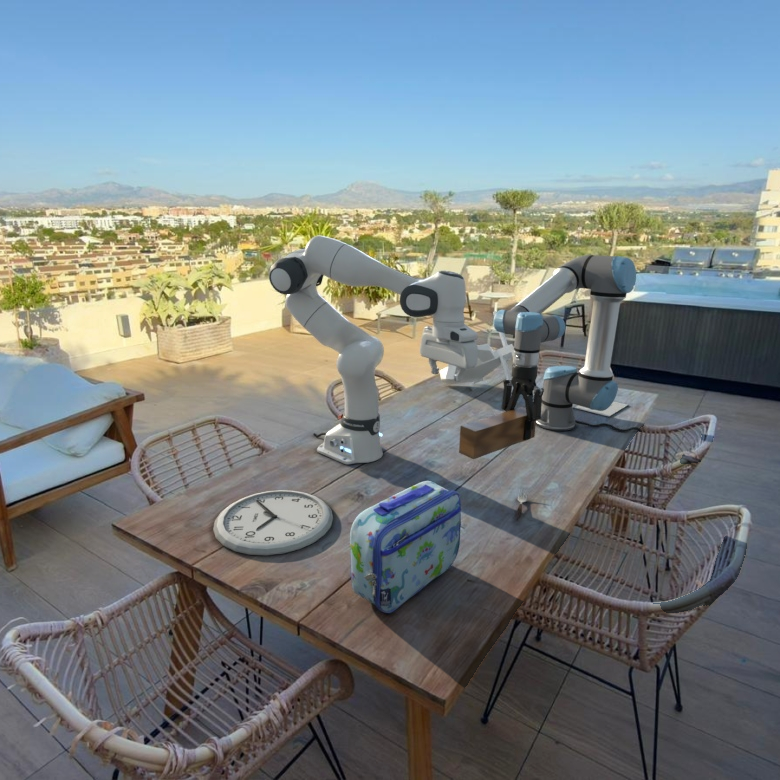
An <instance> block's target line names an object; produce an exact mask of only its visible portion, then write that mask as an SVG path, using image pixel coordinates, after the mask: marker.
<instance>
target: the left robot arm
mask: <svg viewBox="0 0 780 780" xmlns="http://www.w3.org/2000/svg"><path fill="white" fill-rule="evenodd" d="M324 277H326V278H329V279H330V280H332V281H334V282H336V283H339V284H342V285H345V286H349V287H354V288H357V287H358V288H360V287H379V288H383V289H386V290H388V291H391V292H393V293H395V294H398V295H400V296H399V305H400V308H401V310H402V311H403V313H404V314H406V315H407V316H408V317H411V318H422V317H428V316H431V317H432V326H431V325H426V326H425V327H424V328H423V329H422V335H421V337H420V345H419V354H420V356H421V357H423V358H426V359H428V364H429V366H430V370H431V371H430V373H431V375H432V374H433V375H438V374H440V372H439V370H440V367H438V365H437V362H440V363H443V364H448V365H449V364H450V365H453V366H457V370H458V372H457V374H456V375H454V381H457V382H460V381H462V375H463V373H464V372H465V370H466V369H471V368H474V367H475V366H476V365H477V357H478V347H477V346H478V343H477V342H476V341H477V340H478V337H479V334H478V332H477V331H475V330H474V329H472V328H471V327H469V325H467V324H466V323H465V314H464V311H465V307H466V302H467V301H466V299H467V294H466V293H467V292H466V291H467V290H466V288H467V287H466V281H465V278H464V276H462V274H460V273H458V272H454V271H451V270H439V271H437V272H436V273H435V274H433V275H431V276H429V277H427V278H418V277H414V276H411V275H409V274H407V273H404V272H403V271H399V270H397V269H396V268H394V267H393V268H392V267H390V266H388V265H387V264H386V265H385V264H384V263H382V262H380V261H378V260H377V259H375V258H373V257H371V256H369V255H368V254H366V253H365V252H363V251H361V250H360V249H358V248H356V247H354V246H352V245H350V244H347V243H345V242H343V241H342V240H338V239H336V238H333V237H329V236H324V235H315V236H313V237H311V238H310V239H309V240H308V242H307V243H306V245H305V247H301V248H300V249H297V250H294V251H291V252H289V253H288V254H286V255H285V256H284V257H282V258H279V259H277V260H276V261H275V262H274V263H273V264H272V265H271V267H270V268H269V271H268V280H269V283H270V285H271V287H272V288H273V289H274V291H276V292H277V293H279V294H281V295H286V296H285V299H284V303H285V307H286V309H287V310H288V312H289V313H290V314H291V316H292V317H293V318H294V319H295V320H296V321H297V322H298V324H299V325H300V326H302V327H303V329H305V330H306V331H307V332H308V333H309V334H310V335H311V336H313V338H315V340H316V341H318V342H319V343H320V344H321V345H323V346H324V347H327V348H329V349H331V350H334V351H336V352H337V353H339V354H338V355H337V356H338V357H337V359H336V364H335V365H336V369H337V371H338V373H339V375H340V378H341V382H342V387H343V394H344V412H343V413H341V414H340V415H338V416H337V420H340V422H339V423H338V424H336V425H335V426H334V427H332V428H330V429H329V430H327V432H320V433H319V434H317V433H315V432H314V433H312V435H313V436H314V437H316V438H319V437H321V436H324V440H323V442H322V443H321V444H319V445H318V447H317V448H316V452H317V453H318V454H321V455H323V456H325V457H327V458H330V459H332V460H334V461H337V462H339V463H340V464H341V463H342V464H343V465H354V464H366V463H372V462H376V461H378V460H380V459H381V458H382V457H383V455H384V452H383V449H382V445H381V439H380V437H383V433H381V432H380V427H381V414H380V413H379V405H380V404H379V401H380V399H379V398H380V397H379V394H380V393H379V390H378V388H377V382H376V376H375V375H376V368H377V367H378V366H379V365H380V364H381V363H382V361H383V358H384V355H385V347H384V343H382V341H381V340H380V338H378V337H376V336H373V335H371V334H369V333H368V332H366V331H365V330H363V329H362V328H360V327H359V326H357V325H356V324H354V323H353V322H351V320H349V319H347V318H346V317H345V316H344V315H343V314H342V313H341V312H340V311H338V310H337V309H336V308H335V307H334V306H333V305H332V304H331V303H329V302H328V301H327V300H326V299H325V298H324V297H323V296H322V295H321V294H320V293H319V292H318V289H317V287H319V286H321V284H322V283H323V279H324Z"/></svg>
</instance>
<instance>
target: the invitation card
mask: <svg viewBox="0 0 780 780" xmlns="http://www.w3.org/2000/svg"><path fill="white" fill-rule="evenodd" d="M628 406H629V404H627V403H623V402H618V401H615V400H614V401H613V403H612V404H611V405H610V407H609V408H607V409H606V410H604V411H598V410H592V409H590V408H586V407H583V406H579V405H575V406H574V407H573V409H575V410H581V411H584V412H587V413H593V414H596V415H600V416H604V417H608V418H609V417H611V416H613V415H614V414H616V413H617V412H619V411H621V410H623V409H624V408H626V407H628Z"/></svg>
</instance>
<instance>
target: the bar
mask: <svg viewBox="0 0 780 780" xmlns="http://www.w3.org/2000/svg"><path fill="white" fill-rule="evenodd" d="M525 420H527V413H526V407H524V406H521V407H518V408H515V409H514V410H510V411H507V412H506V411H504V412H500V413H498V414H494V415H490V416H488V417H484V418H481V419H477V420H475V421H471V422H468V423H464V424H461V425H460V429H459V431H460V432H459V445H458V453H459V454H461V455H462V456H463V455H464V456H465V457H467V458H470V459H472V460H476V459H478V458H481V457H484V456H487V455H489V454H492V453H495V452H497V451H501V450H503V449H505V448H508V447H511V446H514V445H517V444H519V443H522V442H525V441H524V440H523V436H524V426H525ZM536 426H537V425H536V421H534V429H533V430H532V431H531V439H533V438H535V437H536V436H535V435H536Z"/></svg>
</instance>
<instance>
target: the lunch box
mask: <svg viewBox="0 0 780 780" xmlns="http://www.w3.org/2000/svg"><path fill="white" fill-rule="evenodd" d="M461 503H462V502H461V496H460V493H459V492H458V491H457V490H454V489H453V490H448V489H447V488H445V487H443V486H441V485H439V484H437V483H436V482H433V481H431V480H424V481H421V482H418V483H416V484H414V485H412V486H410V487H408V488H406V489H404V490H401V491H400V492H398V493H396V494H393V495H391V496H390V497H388V498H386V499H385V498H384V499H383V500H381V501H380V502H378V503H376V504H374V505H371V506H370V507H368V508H366V509H364V510H362V511H361V512H360V513H359V514H358V515H357V516H356V517H355V518H354V520H353V521H352V523H351V528H350V532H349V533H350V535H349V552H350V553H349V555H350V578H351V579H350V580H351V587H352V591H353V592H354V594H355V595H357V596H359V597H362V598H363V599H364V600H367V601H368V602H369V603H371V604H372V605H374V606H375V607H376V609H377V610H378V611H380V612H382V613H384V614H391V613H393V612H395V611H397V610H398V608H400V607H401V606H402V605H403V604H404V603H406V602H407V601H408V600H410V599H411V598H412V597H413V596H415V595H417V594H418V593H419V592H420V591H421V590H422V589H424V588H425V587H426V586H428V584H429V583H431V582H432V581H434V580H435V579H436V578H438V577H440V576H441V575H443V574H444V573H445V572H447V571H448V570H449V569H450V568H451V567H452V566H453V564H454V563H455V560H456V559H457V556H458V554H459V551H460V544H461V543H460V542H461V522H462V521H461V520H462V512H461V510H462V506H461V505H462V504H461Z"/></svg>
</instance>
